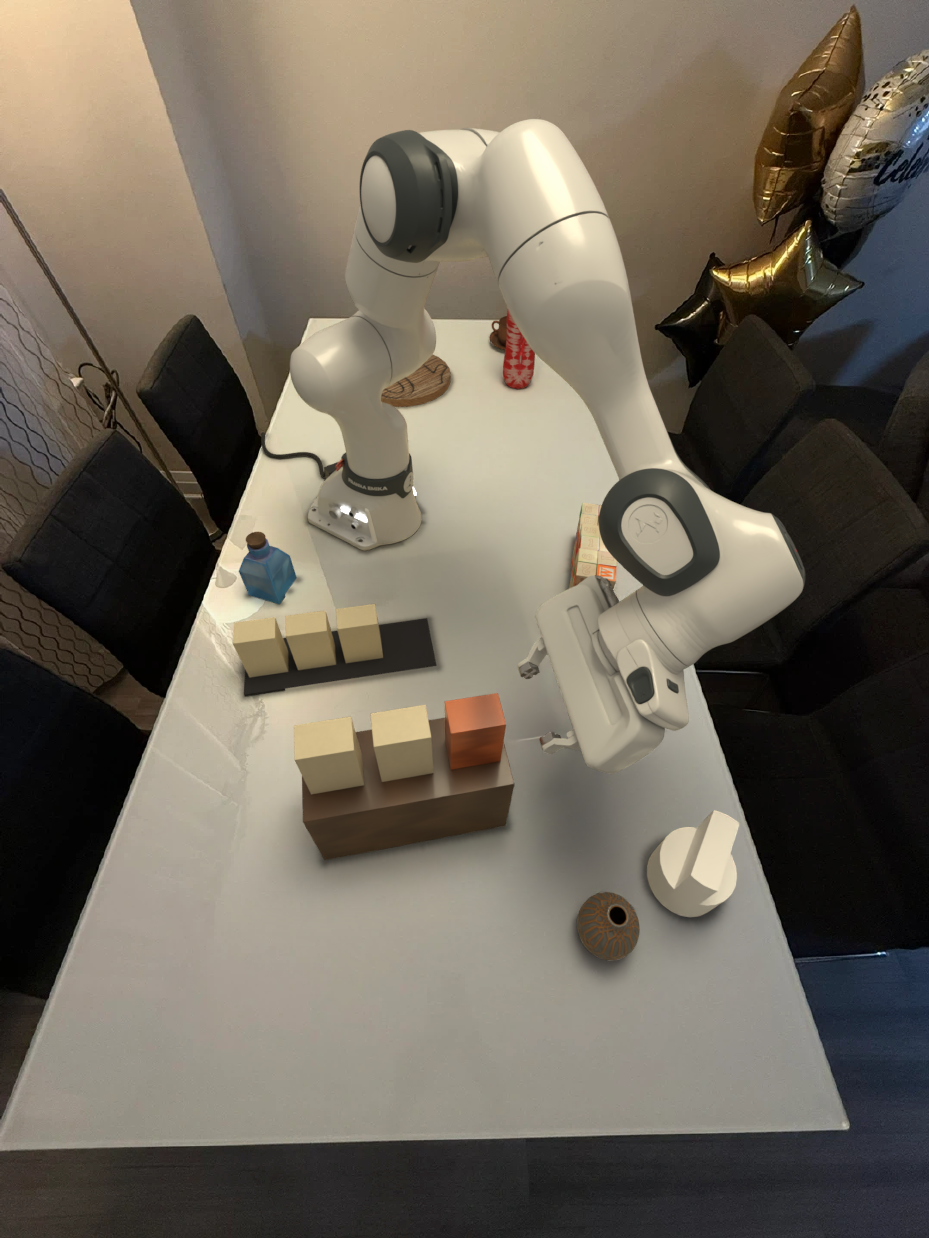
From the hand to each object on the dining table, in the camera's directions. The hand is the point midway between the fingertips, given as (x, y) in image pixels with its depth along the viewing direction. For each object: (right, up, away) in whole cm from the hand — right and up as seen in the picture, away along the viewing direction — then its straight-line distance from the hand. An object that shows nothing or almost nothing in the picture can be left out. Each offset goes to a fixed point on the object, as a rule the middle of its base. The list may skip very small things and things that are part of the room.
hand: (532, 708), depth 64 cm
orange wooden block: (-7, -6, +6) cm, 10 cm away
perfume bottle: (-42, +15, +40) cm, 60 cm away
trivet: (-24, +71, +85) cm, 113 cm away
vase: (+9, -28, +6) cm, 30 cm away
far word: (-28, +4, +31) cm, 42 cm away
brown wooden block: (-15, -16, +15) cm, 26 cm away
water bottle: (+6, +71, +86) cm, 112 cm away
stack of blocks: (+15, +17, +42) cm, 48 cm away
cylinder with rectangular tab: (+20, -23, +10) cm, 33 cm away
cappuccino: (+39, +102, +111) cm, 156 cm away
